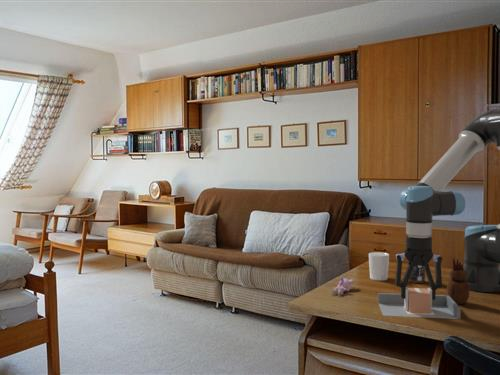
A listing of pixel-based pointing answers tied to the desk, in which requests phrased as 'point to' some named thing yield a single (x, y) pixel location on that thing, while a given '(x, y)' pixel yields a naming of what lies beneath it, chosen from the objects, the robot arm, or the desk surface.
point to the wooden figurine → (458, 284)
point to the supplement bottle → (417, 275)
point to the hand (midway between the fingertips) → (417, 309)
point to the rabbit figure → (342, 286)
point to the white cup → (378, 265)
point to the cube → (418, 300)
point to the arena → (440, 309)
